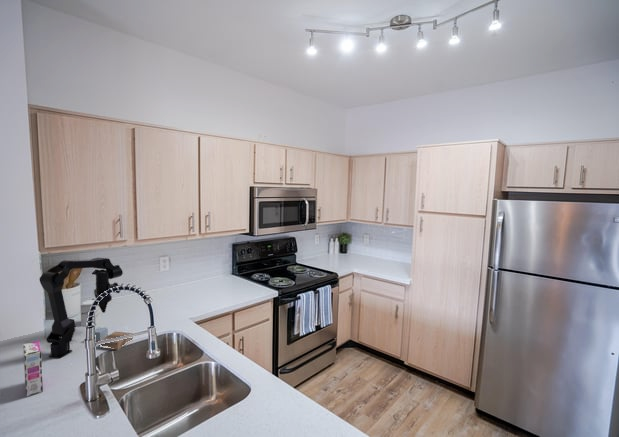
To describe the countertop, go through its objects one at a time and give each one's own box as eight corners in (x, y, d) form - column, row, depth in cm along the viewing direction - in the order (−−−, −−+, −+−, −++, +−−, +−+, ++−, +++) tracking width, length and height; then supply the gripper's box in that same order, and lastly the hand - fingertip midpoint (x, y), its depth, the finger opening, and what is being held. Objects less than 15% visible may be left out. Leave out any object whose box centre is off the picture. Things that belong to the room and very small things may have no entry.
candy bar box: (44, 391, 116) (41, 350, 114) (26, 397, 112) (23, 355, 111) (41, 378, 124) (39, 339, 122) (25, 383, 120) (22, 344, 119)
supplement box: (80, 326, 171) (79, 304, 169) (86, 321, 178) (85, 300, 177) (95, 325, 172) (94, 303, 171) (100, 319, 180) (100, 299, 179)
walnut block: (117, 350, 147) (117, 342, 146) (99, 348, 148) (99, 340, 148) (132, 340, 157) (132, 333, 156) (115, 338, 158) (114, 331, 158)
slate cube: (100, 342, 154) (99, 332, 154) (91, 341, 155) (91, 331, 154) (108, 337, 159) (107, 328, 158) (99, 336, 160) (99, 327, 159)
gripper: (122, 282, 159) (123, 311, 160) (117, 275, 174) (117, 302, 175) (97, 286, 152) (97, 316, 153) (93, 278, 167) (94, 306, 168)
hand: (102, 309), depth 162 cm, fingers open, 9 cm apart
